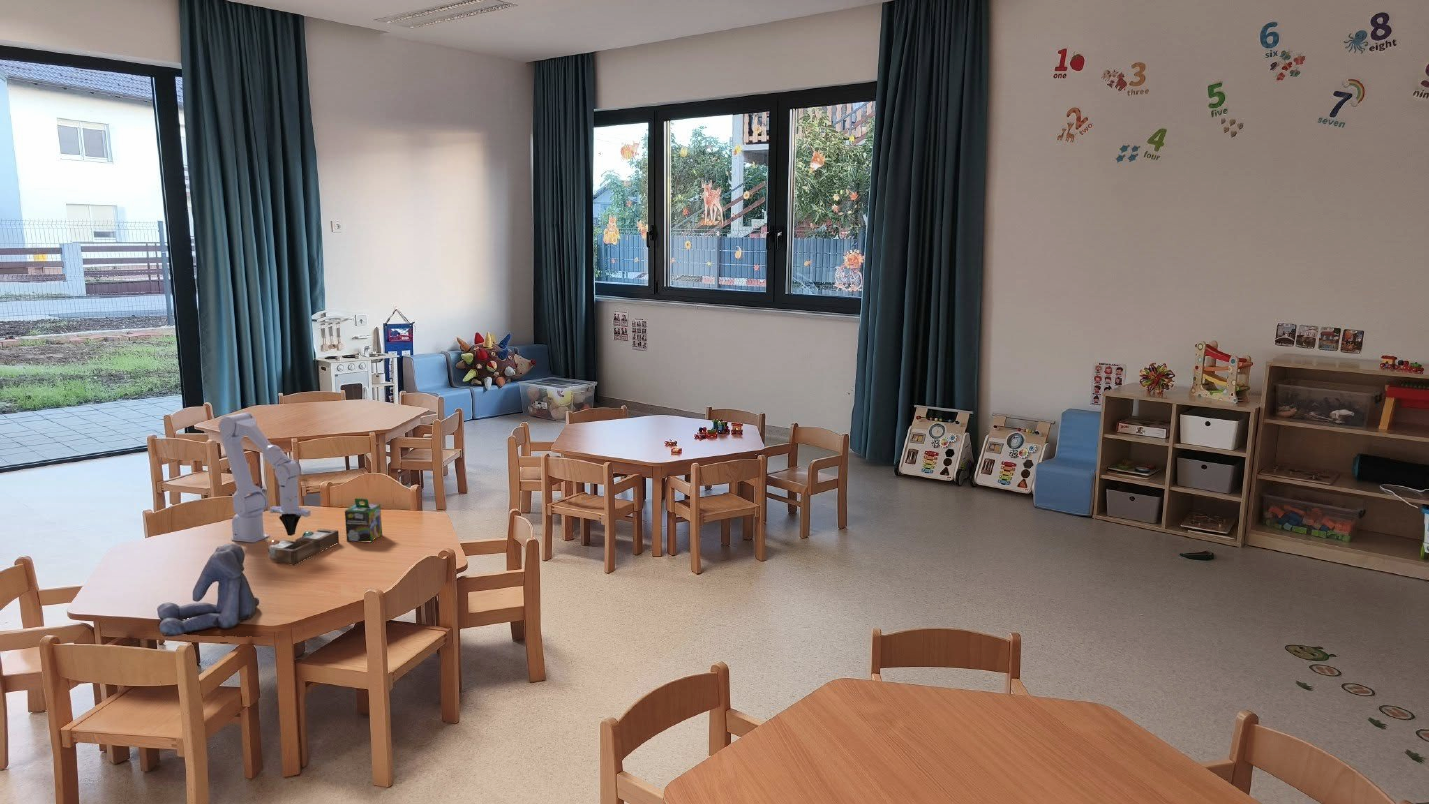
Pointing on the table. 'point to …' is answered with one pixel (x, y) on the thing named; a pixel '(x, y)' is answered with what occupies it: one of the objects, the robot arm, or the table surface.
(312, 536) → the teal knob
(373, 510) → the chalk box
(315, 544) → the grey brown divided tray
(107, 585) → the table surface
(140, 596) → the table surface
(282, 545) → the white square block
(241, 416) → the robot arm
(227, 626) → the elephant
